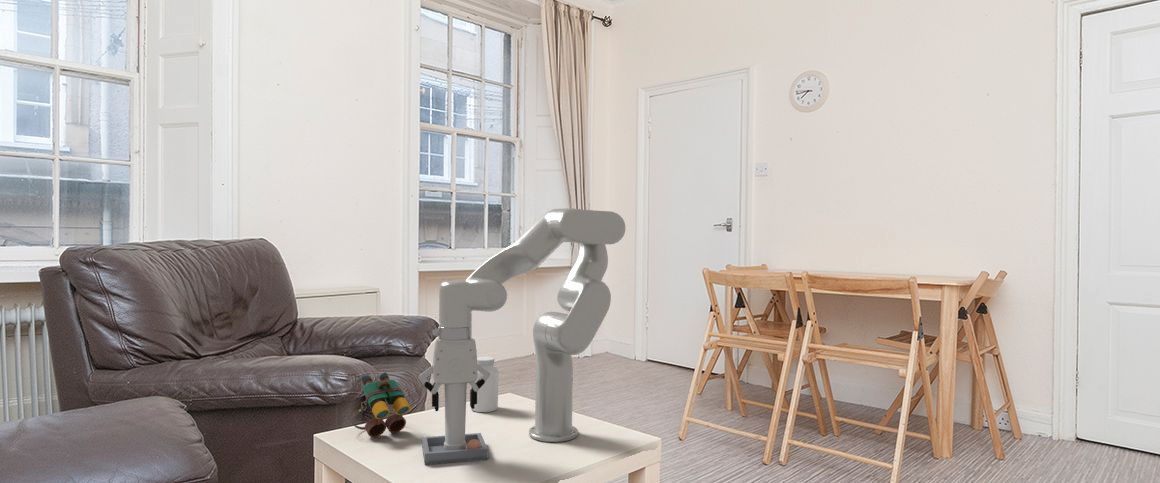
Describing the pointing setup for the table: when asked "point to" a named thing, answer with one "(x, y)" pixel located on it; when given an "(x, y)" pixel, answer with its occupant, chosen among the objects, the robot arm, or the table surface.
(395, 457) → the table surface
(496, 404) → the pill bottle
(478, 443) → the ball
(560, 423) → the robot arm
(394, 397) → the binoculars
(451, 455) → the tray
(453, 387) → the bottle
